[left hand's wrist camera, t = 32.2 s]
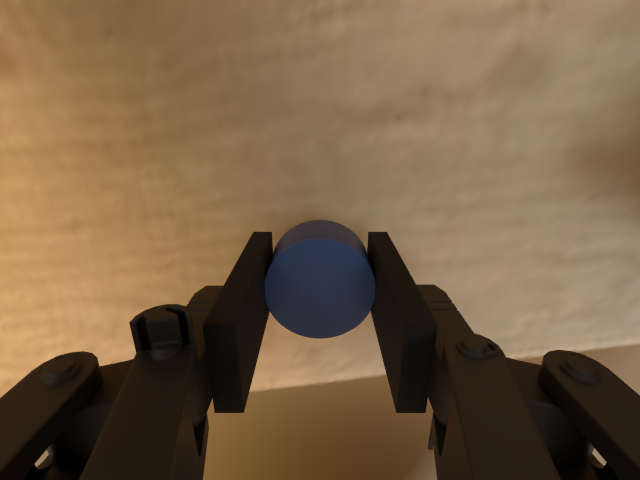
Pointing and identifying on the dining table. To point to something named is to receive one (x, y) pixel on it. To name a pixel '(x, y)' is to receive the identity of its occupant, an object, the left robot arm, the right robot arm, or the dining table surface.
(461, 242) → the dining table surface
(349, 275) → the cap
